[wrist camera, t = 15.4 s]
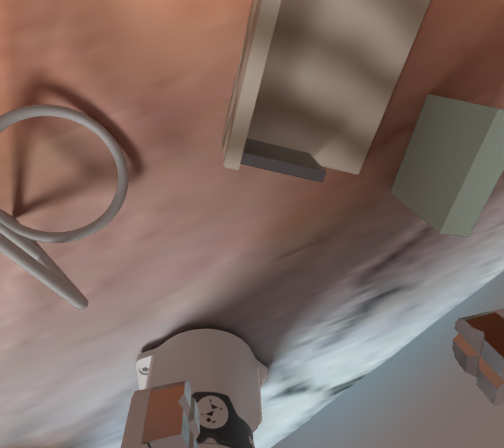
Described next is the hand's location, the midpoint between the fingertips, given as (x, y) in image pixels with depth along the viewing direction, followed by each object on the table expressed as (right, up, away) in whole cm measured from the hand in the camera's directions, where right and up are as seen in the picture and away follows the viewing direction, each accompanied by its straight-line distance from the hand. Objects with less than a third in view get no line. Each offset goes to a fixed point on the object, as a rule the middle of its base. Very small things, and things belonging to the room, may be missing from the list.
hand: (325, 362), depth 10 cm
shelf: (+5, +20, +22) cm, 30 cm away
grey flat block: (+16, +13, +27) cm, 34 cm away
